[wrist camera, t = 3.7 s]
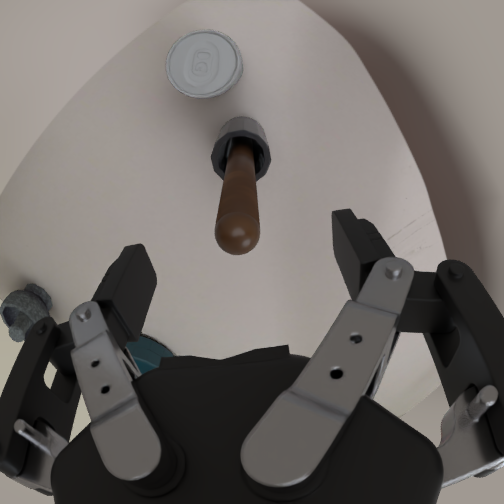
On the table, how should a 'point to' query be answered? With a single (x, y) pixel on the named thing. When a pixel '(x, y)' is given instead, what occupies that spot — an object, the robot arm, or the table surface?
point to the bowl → (147, 353)
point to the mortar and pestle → (24, 310)
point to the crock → (236, 129)
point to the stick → (238, 201)
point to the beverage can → (204, 64)
